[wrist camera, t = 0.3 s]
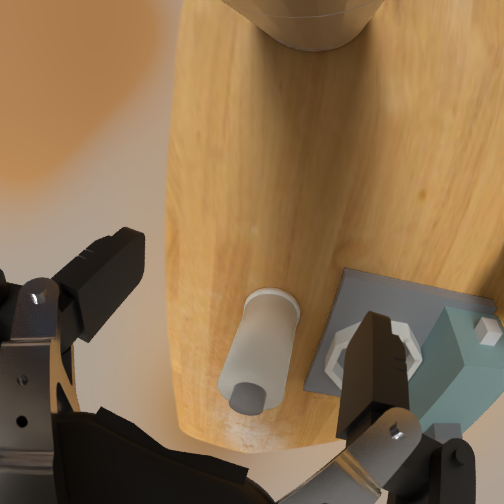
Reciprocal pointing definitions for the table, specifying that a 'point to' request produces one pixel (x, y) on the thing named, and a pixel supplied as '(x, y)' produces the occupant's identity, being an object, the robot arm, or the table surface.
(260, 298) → the bottle
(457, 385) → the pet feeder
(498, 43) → the table surface
